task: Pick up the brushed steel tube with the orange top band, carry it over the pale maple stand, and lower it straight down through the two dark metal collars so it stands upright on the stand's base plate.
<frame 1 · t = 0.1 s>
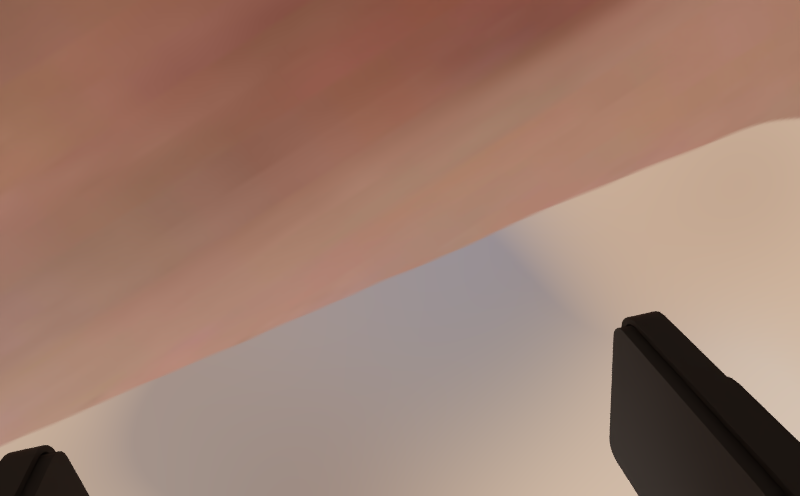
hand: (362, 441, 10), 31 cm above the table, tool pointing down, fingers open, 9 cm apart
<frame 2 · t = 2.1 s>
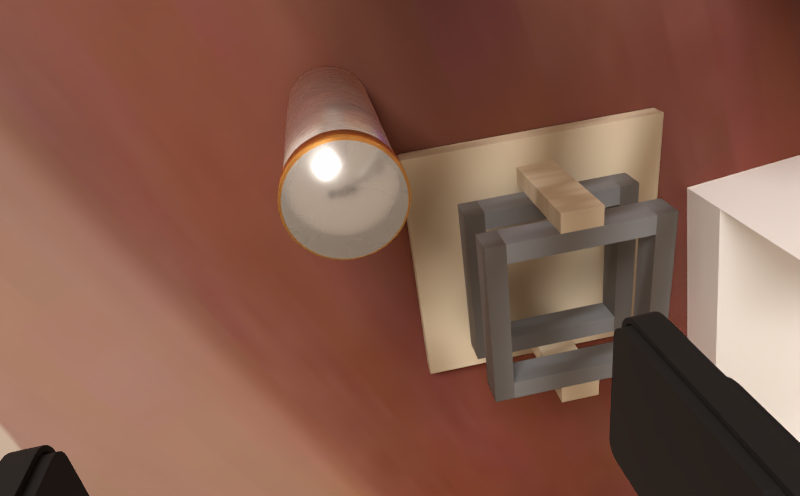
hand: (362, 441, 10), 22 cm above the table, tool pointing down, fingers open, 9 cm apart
collar stand: (531, 246, 35), on the table
steel tube: (329, 107, 29), on the table
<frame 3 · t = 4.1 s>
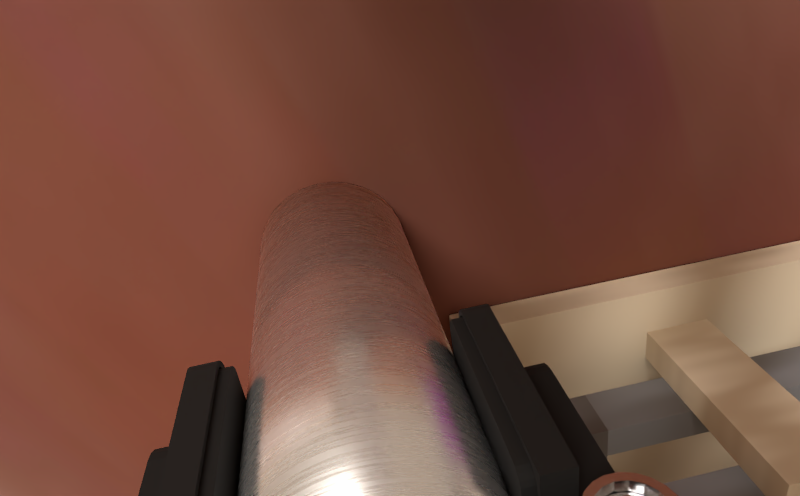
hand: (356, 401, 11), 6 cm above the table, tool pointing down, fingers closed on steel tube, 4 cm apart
collar stand: (649, 430, 22), on the table
steel tube: (334, 249, 17), on the table, touching gripper
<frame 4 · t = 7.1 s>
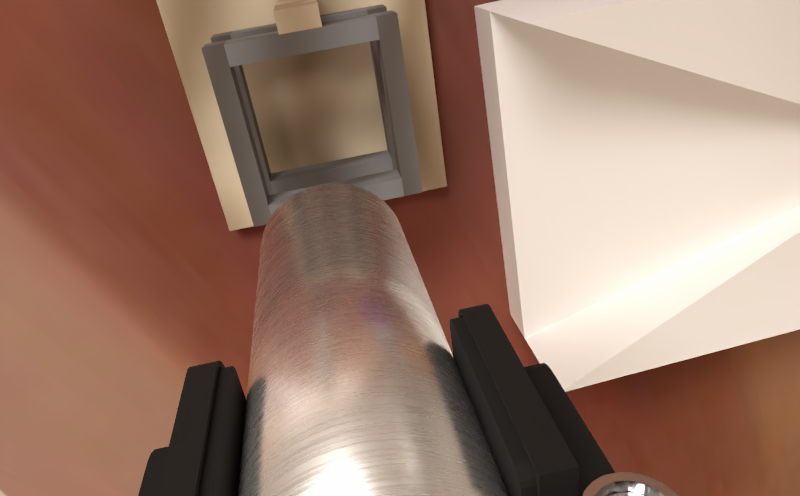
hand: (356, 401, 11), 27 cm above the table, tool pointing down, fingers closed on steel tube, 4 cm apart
collar stand: (315, 95, 35), on the table
steel tube: (333, 250, 17), point 21 cm above the table, touching gripper
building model: (799, 103, 42), on the table
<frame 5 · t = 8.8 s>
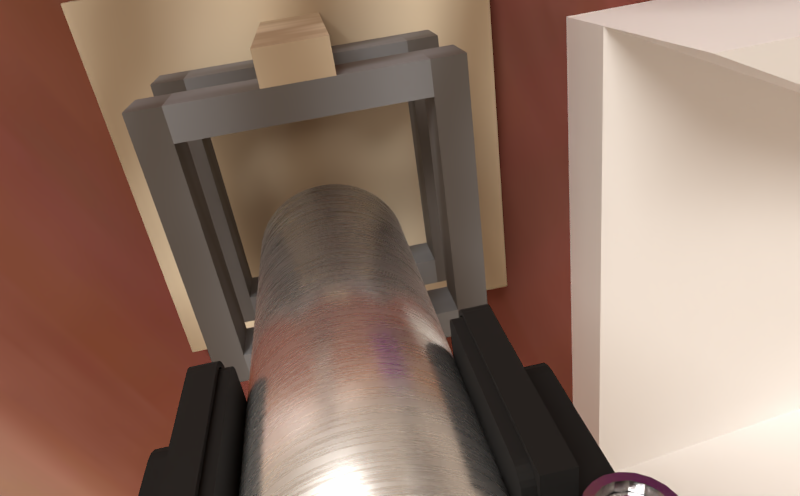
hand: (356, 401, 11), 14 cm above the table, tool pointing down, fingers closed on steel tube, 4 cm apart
collar stand: (320, 160, 24), on the table
steel tube: (334, 251, 17), point 8 cm above the table, touching gripper
when the fingers open (9 cm above the table, at t = 10.3 s): steel tube drops 1 cm, resting on collar stand.
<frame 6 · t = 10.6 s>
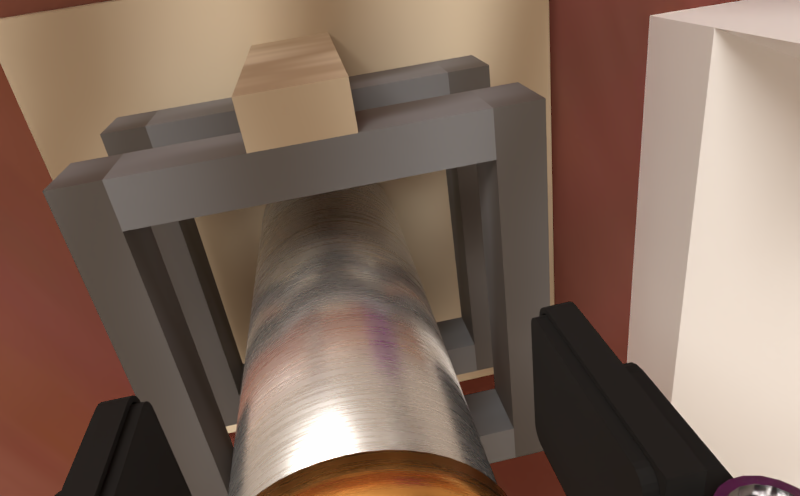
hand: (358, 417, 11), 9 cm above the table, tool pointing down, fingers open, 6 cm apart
collar stand: (328, 214, 19), on the table
steel tube: (330, 228, 18), point 1 cm above the table, touching collar stand
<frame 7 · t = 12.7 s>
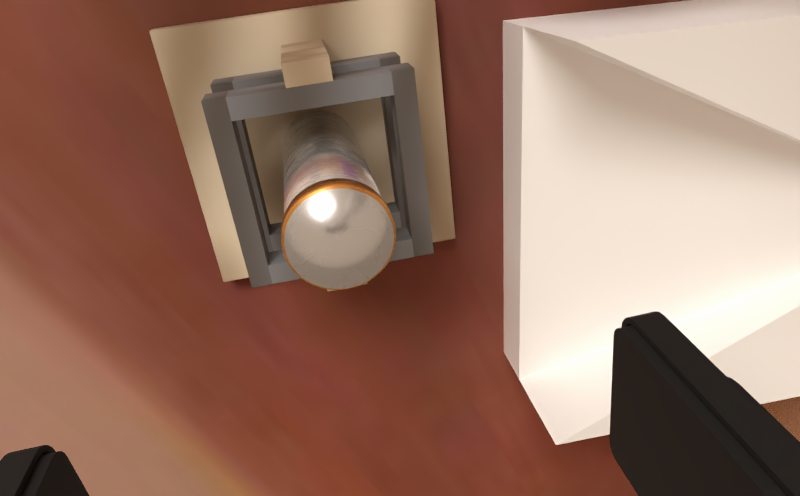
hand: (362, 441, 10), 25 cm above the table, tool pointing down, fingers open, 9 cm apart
collar stand: (319, 142, 33), on the table
steel tube: (320, 147, 32), point 1 cm above the table, touching collar stand
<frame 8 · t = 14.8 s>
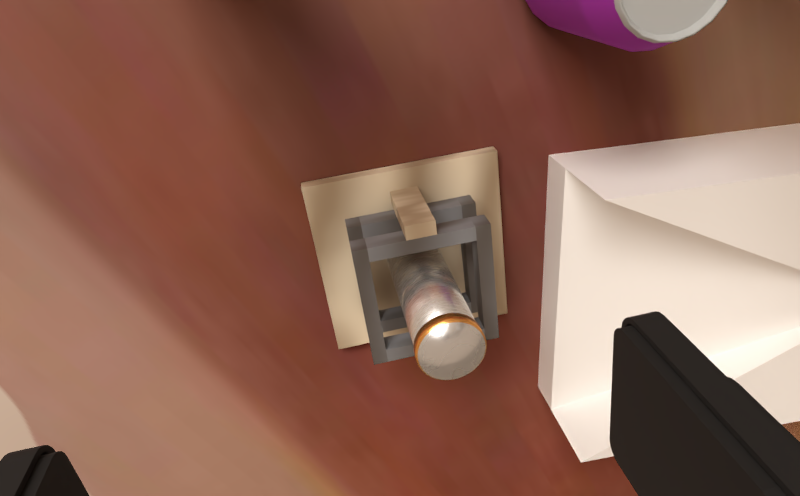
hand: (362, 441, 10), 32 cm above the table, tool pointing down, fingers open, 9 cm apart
collar stand: (410, 249, 46), on the table
steel tube: (413, 256, 45), point 1 cm above the table, touching collar stand
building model: (784, 242, 52), on the table
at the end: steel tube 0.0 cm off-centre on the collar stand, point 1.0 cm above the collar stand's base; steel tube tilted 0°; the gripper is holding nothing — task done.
